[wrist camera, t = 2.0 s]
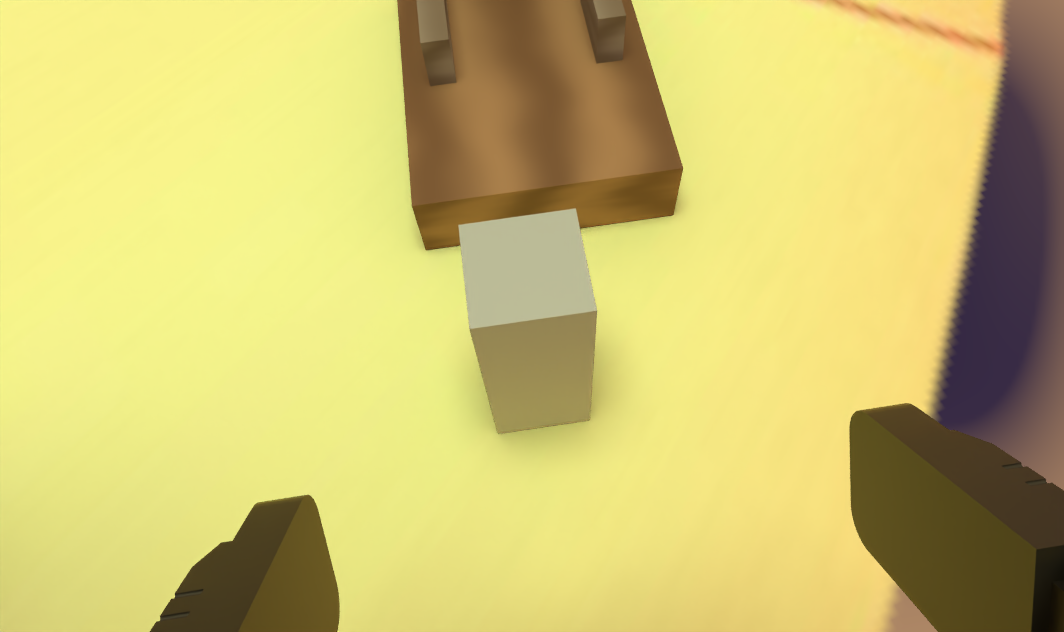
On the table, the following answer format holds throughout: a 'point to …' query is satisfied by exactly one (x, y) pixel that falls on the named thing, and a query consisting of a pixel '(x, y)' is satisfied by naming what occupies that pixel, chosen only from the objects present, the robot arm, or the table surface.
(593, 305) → the slate post
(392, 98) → the table surface
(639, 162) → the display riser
